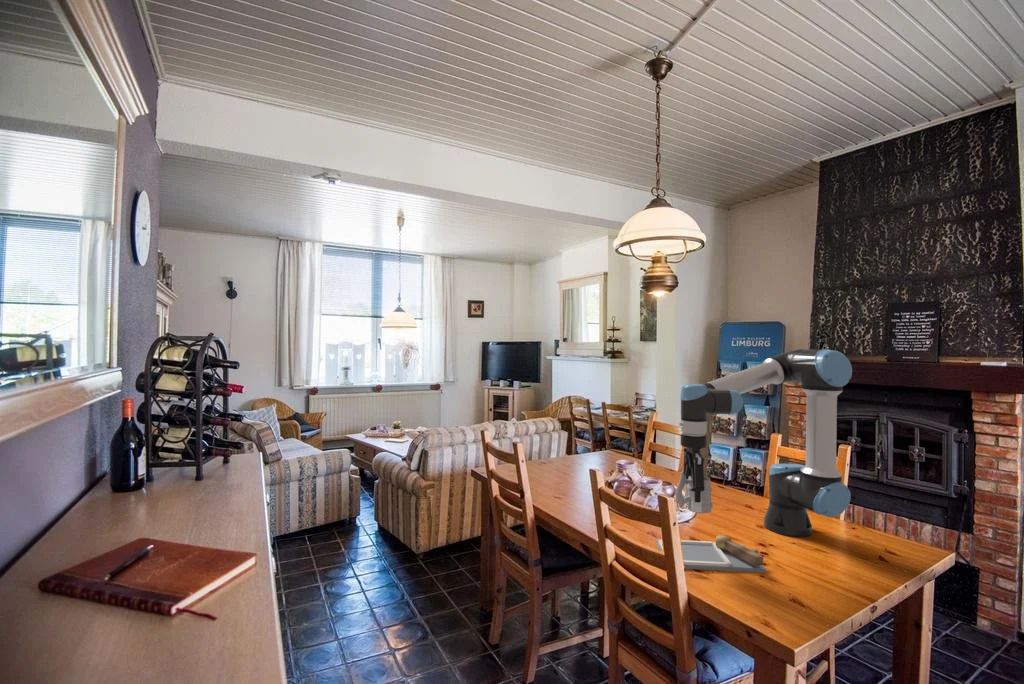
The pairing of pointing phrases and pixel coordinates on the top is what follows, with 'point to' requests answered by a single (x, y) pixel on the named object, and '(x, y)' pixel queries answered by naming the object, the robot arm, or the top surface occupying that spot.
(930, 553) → the top surface
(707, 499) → the mug
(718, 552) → the board
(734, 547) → the bar
